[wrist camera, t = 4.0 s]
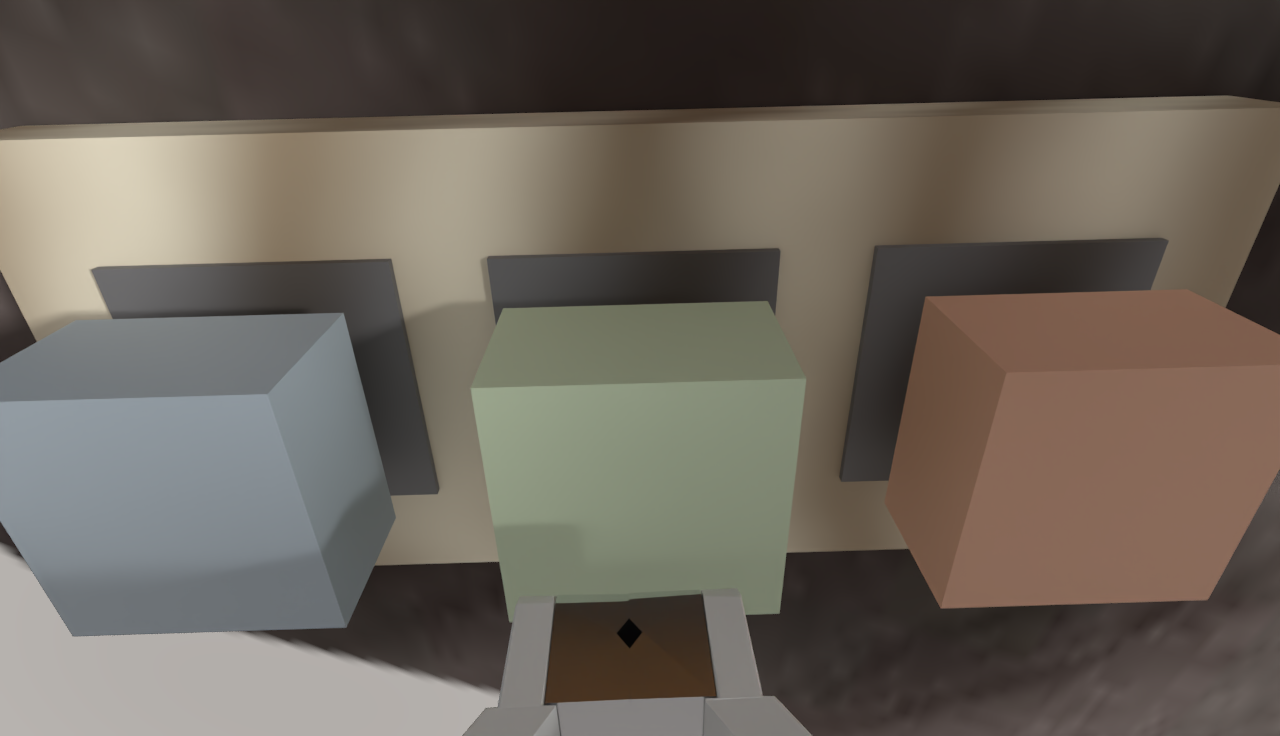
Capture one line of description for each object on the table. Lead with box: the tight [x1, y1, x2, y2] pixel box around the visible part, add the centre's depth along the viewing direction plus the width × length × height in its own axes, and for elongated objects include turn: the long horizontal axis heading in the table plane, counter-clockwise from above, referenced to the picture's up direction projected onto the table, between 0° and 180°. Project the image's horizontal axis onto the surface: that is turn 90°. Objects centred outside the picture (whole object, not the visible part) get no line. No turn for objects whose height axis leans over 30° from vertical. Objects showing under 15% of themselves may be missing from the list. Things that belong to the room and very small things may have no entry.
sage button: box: [470, 301, 806, 622], centre depth 12 cm, size 5×5×3 cm
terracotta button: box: [884, 289, 1280, 609], centre depth 12 cm, size 5×5×3 cm
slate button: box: [0, 313, 396, 636], centre depth 12 cm, size 5×5×3 cm
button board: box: [0, 95, 1280, 566], centre depth 16 cm, size 26×11×2 cm, turn 91°
